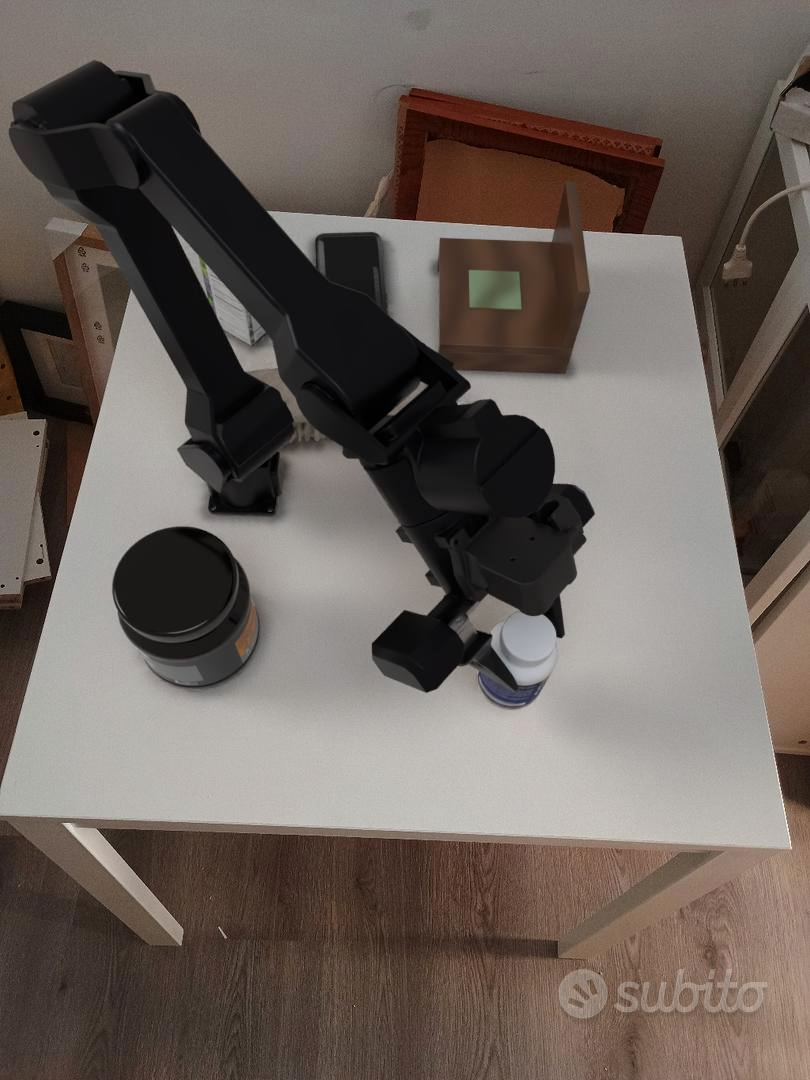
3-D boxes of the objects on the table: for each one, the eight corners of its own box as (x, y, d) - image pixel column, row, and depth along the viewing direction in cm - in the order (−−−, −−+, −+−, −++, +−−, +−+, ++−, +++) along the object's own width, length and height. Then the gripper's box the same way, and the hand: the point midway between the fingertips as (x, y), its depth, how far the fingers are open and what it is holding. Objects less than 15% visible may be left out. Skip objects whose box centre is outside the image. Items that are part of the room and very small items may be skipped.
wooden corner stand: (437, 369, 90) (445, 286, 79) (437, 264, 98) (444, 176, 87) (565, 373, 90) (590, 291, 80) (555, 269, 98) (576, 181, 87)
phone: (317, 328, 91) (314, 233, 98) (318, 335, 92) (315, 240, 99) (389, 325, 91) (381, 231, 98) (389, 333, 92) (381, 238, 99)
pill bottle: (539, 716, 66) (564, 676, 58) (472, 706, 67) (488, 664, 58) (543, 653, 69) (568, 606, 60) (479, 644, 69) (495, 595, 61)
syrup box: (246, 295, 94) (226, 185, 82) (286, 318, 93) (272, 210, 80) (212, 324, 92) (186, 216, 79) (253, 349, 90) (233, 243, 78)
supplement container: (275, 595, 76) (258, 530, 66) (245, 704, 71) (222, 653, 61) (164, 576, 77) (130, 509, 66) (126, 683, 72) (83, 629, 61)
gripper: (410, 613, 45) (535, 794, 51) (606, 412, 52) (694, 593, 58) (315, 586, 54) (431, 743, 61) (492, 418, 61) (579, 574, 68)
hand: (536, 662), depth 62 cm, fingers closed on pill bottle, 5 cm apart
